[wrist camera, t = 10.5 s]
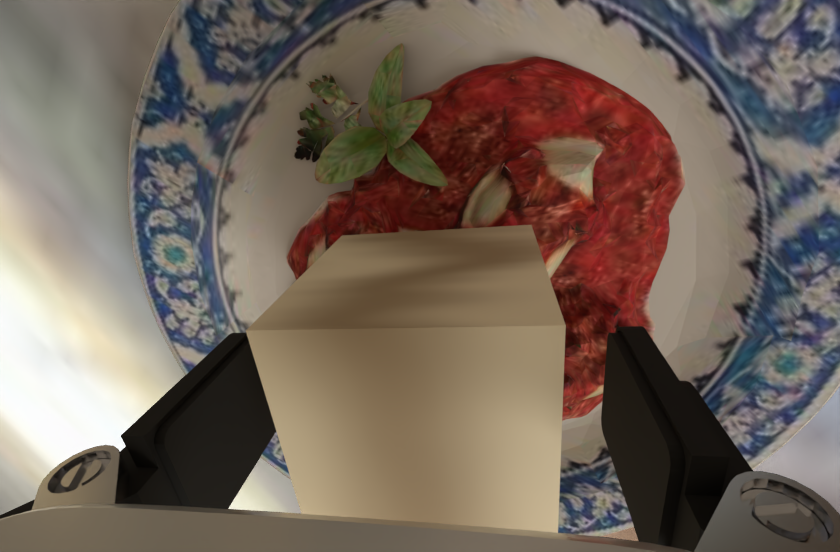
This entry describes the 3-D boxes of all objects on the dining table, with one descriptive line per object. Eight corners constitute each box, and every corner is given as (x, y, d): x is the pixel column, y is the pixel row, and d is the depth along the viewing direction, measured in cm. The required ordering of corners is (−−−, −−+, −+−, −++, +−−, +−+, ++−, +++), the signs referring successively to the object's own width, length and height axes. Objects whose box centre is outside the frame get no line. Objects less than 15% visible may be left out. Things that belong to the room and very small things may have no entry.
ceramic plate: (825, 483, 18) (884, 551, 16) (304, 518, 24) (282, 572, 22) (902, -357, 9) (1076, -545, 6) (45, 35, 15) (-50, 23, 13)
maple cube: (531, 224, 13) (565, 325, 7) (531, 386, 15) (556, 555, 9) (341, 235, 14) (245, 330, 8) (369, 385, 16) (309, 537, 10)
